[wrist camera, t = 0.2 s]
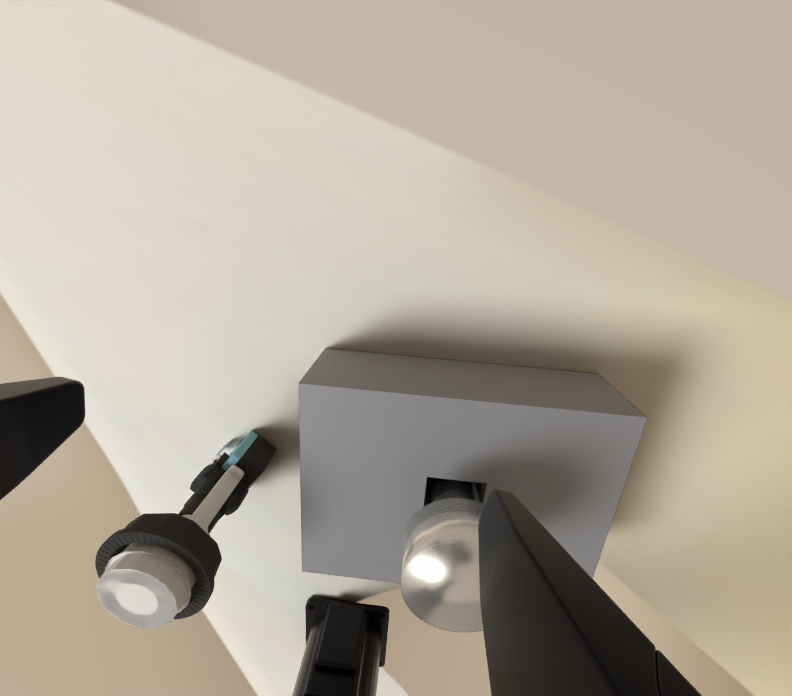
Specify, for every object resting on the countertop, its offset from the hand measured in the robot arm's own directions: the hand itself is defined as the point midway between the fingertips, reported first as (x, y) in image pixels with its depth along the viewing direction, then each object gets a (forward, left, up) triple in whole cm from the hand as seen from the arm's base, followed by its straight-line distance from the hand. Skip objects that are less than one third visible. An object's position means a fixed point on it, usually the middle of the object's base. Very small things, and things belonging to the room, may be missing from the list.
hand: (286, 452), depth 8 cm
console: (-9, -5, -14) cm, 17 cm away
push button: (-12, +9, -14) cm, 20 cm away
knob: (-9, -5, -12) cm, 16 cm away
